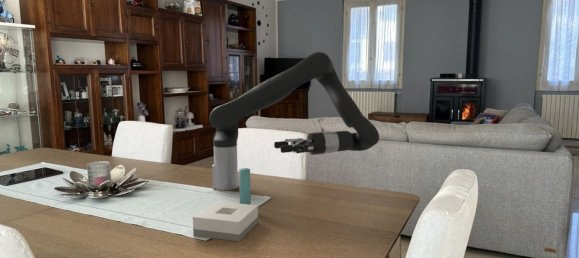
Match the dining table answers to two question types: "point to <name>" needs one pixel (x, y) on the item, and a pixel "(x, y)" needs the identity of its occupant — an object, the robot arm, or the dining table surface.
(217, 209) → the block
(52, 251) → the dining table surface
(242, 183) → the pin
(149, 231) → the dining table surface
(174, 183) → the dining table surface
